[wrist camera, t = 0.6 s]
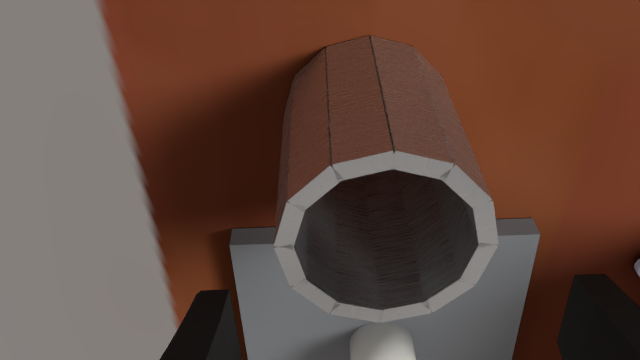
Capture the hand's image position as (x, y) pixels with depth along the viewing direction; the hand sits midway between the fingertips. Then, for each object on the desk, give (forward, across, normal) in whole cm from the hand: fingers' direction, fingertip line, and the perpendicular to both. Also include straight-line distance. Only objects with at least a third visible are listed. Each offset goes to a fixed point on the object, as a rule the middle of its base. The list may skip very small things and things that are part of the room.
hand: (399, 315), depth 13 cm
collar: (+10, 0, 0) cm, 10 cm away
